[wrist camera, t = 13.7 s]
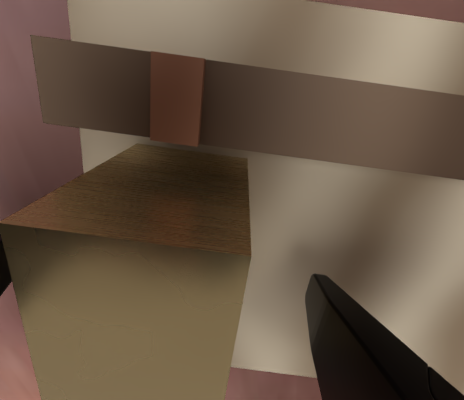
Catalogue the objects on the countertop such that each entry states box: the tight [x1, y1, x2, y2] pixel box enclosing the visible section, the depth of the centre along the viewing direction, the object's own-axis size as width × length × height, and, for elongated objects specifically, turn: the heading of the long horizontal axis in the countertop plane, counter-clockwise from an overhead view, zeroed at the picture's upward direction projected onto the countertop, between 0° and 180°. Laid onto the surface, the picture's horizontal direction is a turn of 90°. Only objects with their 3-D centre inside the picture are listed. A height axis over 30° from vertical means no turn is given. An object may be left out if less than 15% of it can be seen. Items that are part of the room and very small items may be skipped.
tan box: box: [0, 143, 251, 400], centre depth 9 cm, size 4×10×6 cm, turn 172°
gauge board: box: [30, 0, 464, 395], centre depth 11 cm, size 24×16×4 cm, turn 83°
